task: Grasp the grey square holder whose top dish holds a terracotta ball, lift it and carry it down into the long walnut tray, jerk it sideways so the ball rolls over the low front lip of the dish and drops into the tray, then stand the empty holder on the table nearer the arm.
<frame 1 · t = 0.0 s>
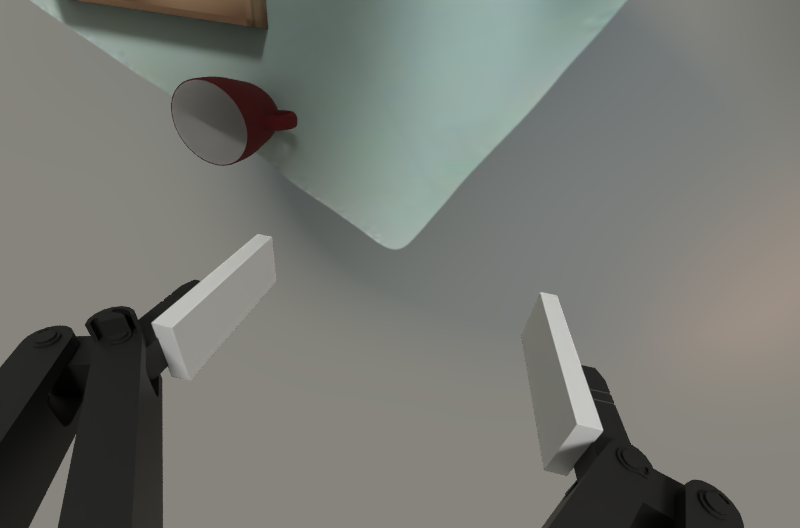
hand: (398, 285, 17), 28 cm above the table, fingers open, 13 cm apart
mug: (272, 109, 41), on the table
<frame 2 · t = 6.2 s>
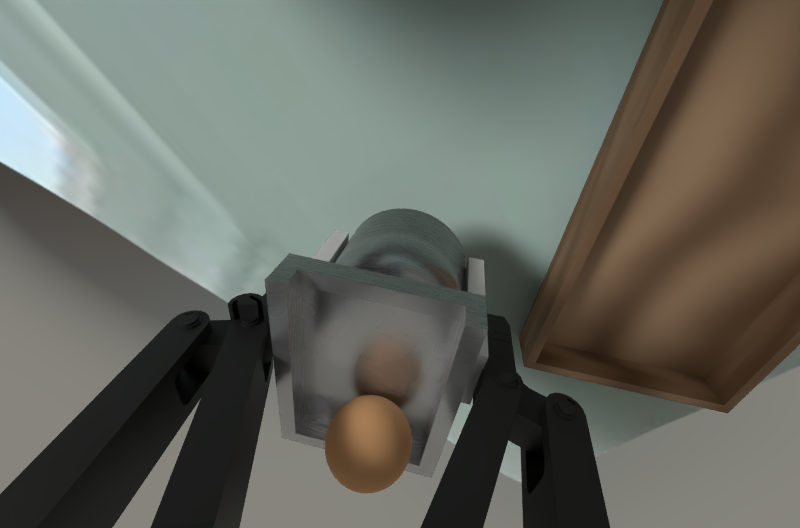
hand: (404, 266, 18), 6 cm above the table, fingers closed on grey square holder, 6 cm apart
ball: (363, 400, 12), point 14 cm above the table, tilted 69°, touching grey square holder
tray: (704, 208, 19), on the table
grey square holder: (405, 263, 18), point 6 cm above the table, touching ball, gripper
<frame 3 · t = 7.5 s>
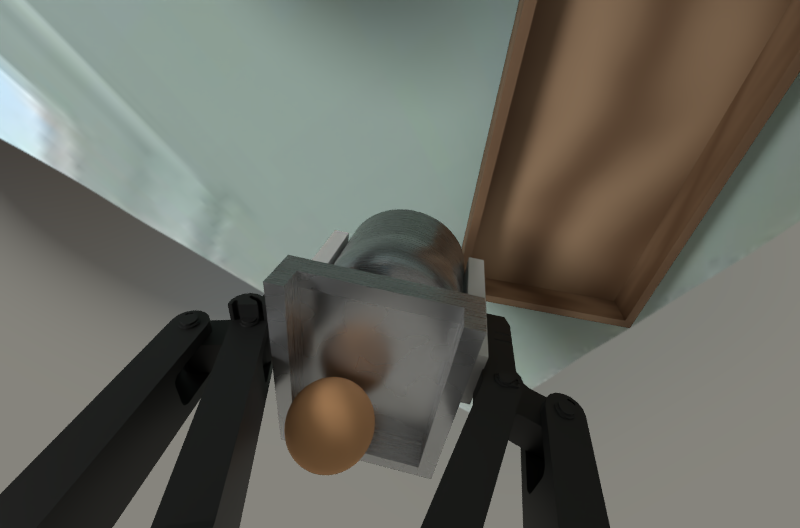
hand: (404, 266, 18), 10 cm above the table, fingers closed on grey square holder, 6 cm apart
ball: (345, 378, 12), point 18 cm above the table, tilted 36°, touching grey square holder
tray: (593, 142, 22), on the table
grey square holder: (404, 264, 18), point 10 cm above the table, touching ball, gripper
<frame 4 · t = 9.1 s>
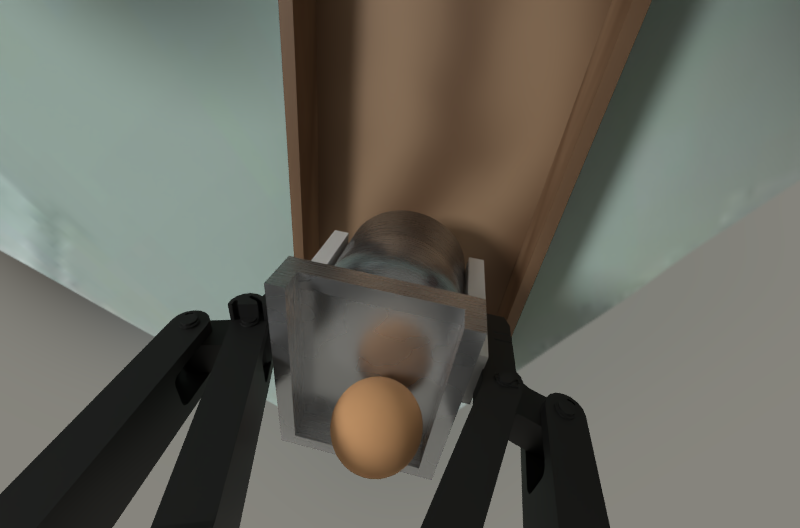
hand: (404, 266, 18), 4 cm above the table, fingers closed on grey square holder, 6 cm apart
ball: (368, 381, 12), point 11 cm above the table, tilted 29°, touching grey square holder
tray: (427, 168, 19), on the table
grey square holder: (405, 265, 18), point 3 cm above the table, touching ball, gripper
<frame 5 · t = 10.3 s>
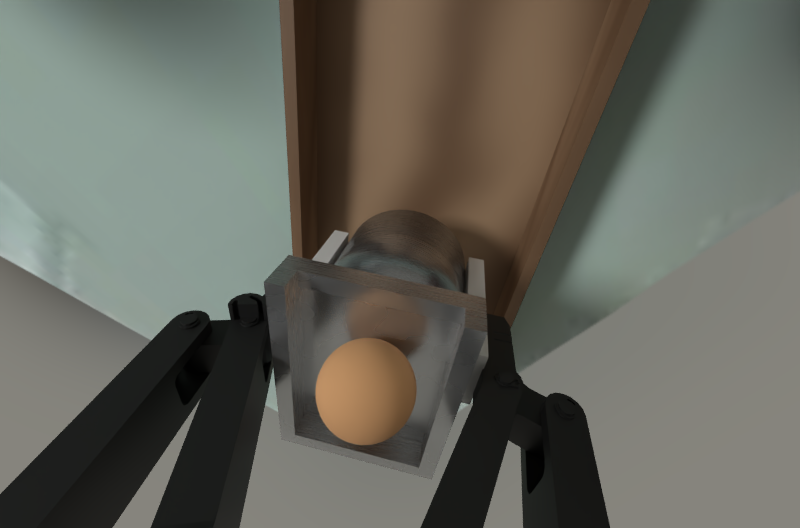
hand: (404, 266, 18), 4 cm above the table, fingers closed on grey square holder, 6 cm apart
ball: (361, 385, 12), point 12 cm above the table, tilted 53°, touching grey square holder
tray: (422, 189, 20), on the table
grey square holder: (405, 264, 18), point 4 cm above the table, touching ball, gripper
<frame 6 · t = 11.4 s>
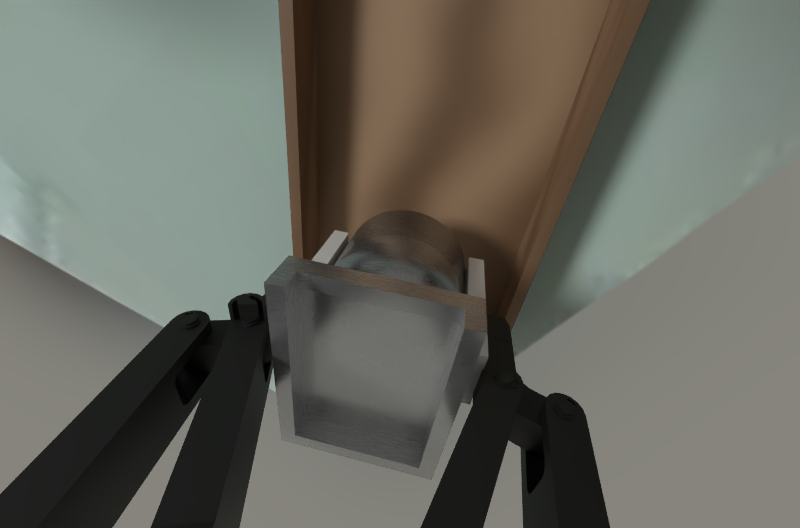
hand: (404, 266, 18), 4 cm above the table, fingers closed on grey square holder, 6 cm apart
tray: (433, 127, 18), on the table
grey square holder: (405, 264, 18), point 4 cm above the table, touching gripper
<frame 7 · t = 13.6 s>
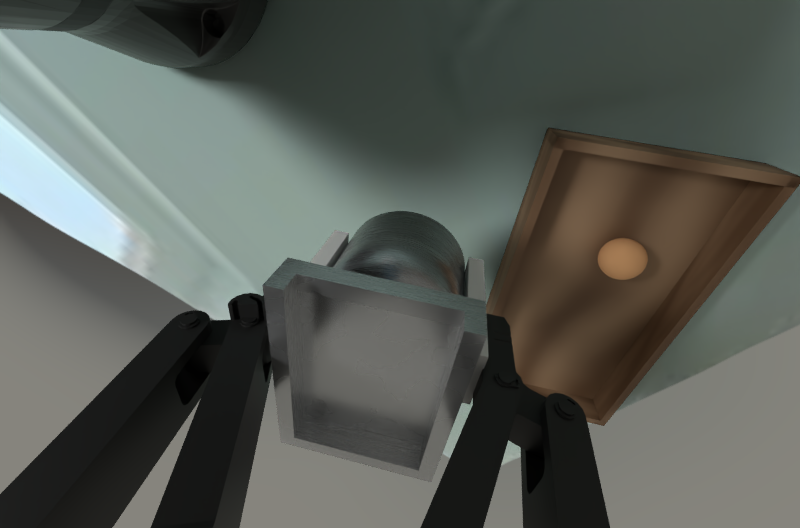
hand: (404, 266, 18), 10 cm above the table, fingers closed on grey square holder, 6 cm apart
ball: (623, 273, 23), point 4 cm above the table, tilted 162°, touching tray
tray: (576, 292, 29), on the table
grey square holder: (404, 266, 18), point 10 cm above the table, touching gripper
when the fingers open (0 cm above the table, at t = 16.1 s): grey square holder stays where it is, on the table.
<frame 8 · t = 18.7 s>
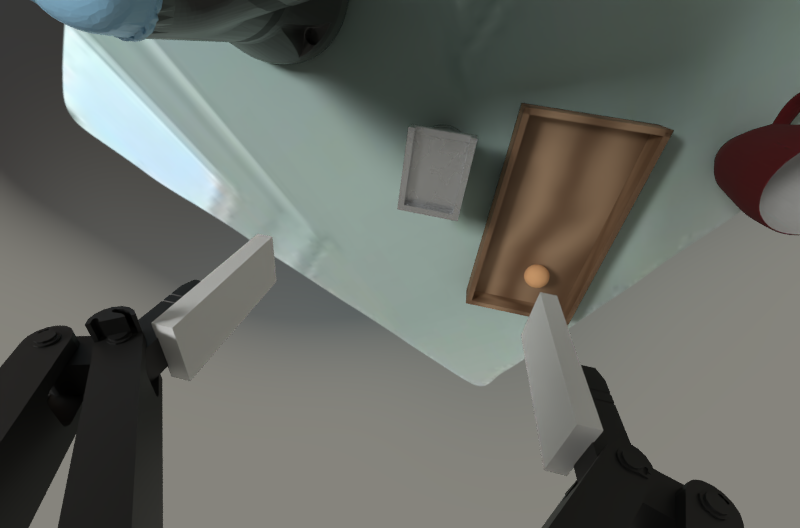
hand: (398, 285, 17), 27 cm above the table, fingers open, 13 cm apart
ball: (530, 285, 43), point 2 cm above the table, tilted 91°, touching tray
tray: (545, 222, 41), on the table
mug: (742, 141, 33), on the table
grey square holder: (441, 154, 39), on the table
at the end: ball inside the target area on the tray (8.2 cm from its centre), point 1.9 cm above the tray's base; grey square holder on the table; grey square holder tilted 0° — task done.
